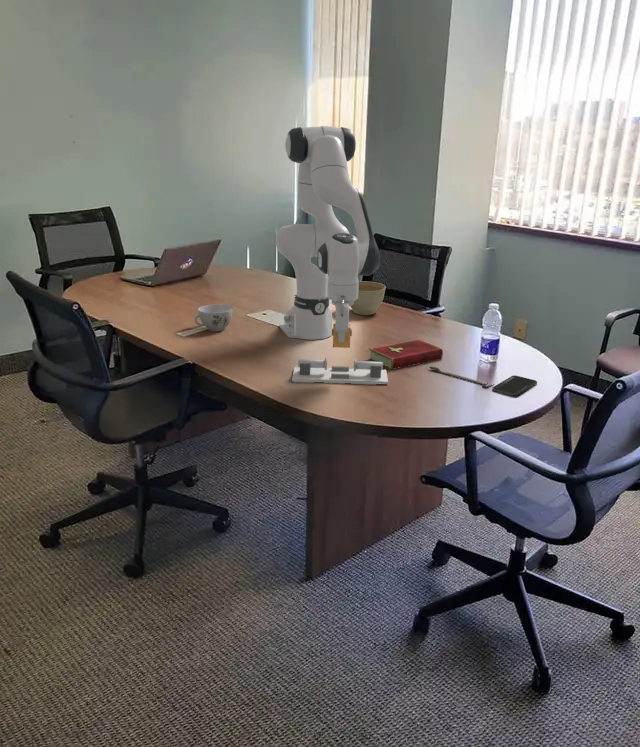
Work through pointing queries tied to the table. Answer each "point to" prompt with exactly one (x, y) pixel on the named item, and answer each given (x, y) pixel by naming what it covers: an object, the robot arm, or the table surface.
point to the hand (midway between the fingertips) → (341, 338)
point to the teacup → (214, 316)
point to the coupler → (347, 338)
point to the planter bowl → (368, 298)
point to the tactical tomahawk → (461, 377)
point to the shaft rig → (340, 372)
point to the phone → (514, 386)
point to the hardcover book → (406, 353)
